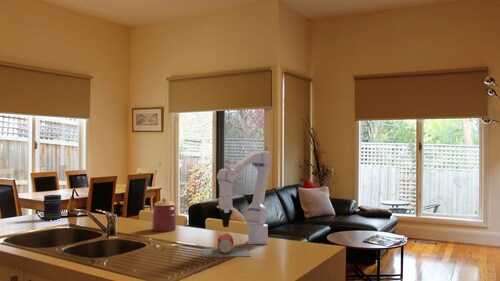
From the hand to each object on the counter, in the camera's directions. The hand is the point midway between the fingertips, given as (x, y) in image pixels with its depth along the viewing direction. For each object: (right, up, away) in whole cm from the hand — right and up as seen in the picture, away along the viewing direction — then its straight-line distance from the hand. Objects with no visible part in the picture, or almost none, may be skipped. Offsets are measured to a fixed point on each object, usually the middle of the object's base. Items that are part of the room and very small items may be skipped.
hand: (225, 226), depth 186 cm
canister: (-37, -11, +46) cm, 59 cm away
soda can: (0, -7, +4) cm, 8 cm away
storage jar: (-111, -11, +74) cm, 134 cm away
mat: (0, -10, -5) cm, 11 cm away
